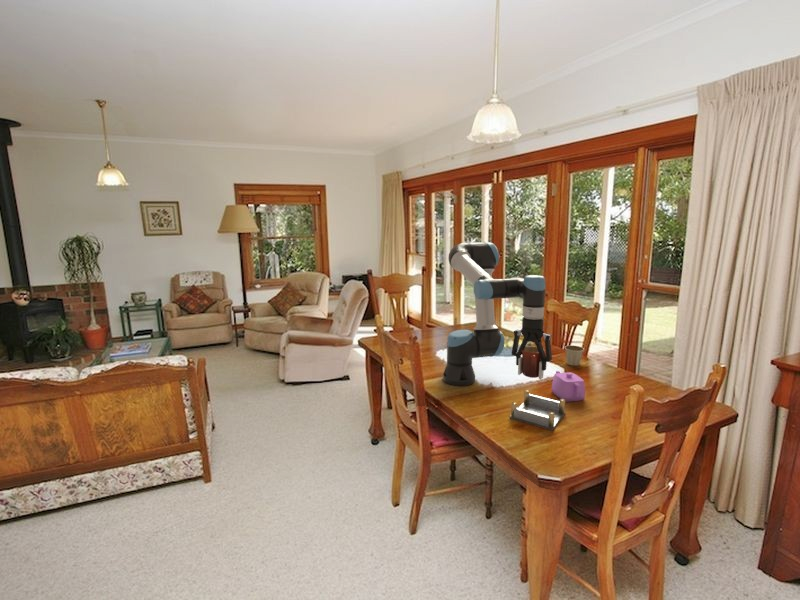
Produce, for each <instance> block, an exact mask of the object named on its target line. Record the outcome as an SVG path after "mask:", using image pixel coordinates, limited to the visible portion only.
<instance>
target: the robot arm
mask: <svg viewBox="0 0 800 600" xmlns="http://www.w3.org/2000/svg"><path fill="white" fill-rule="evenodd" d="M499 253H500V252H499V250H498V248H497V246H496V245H495V244H494V243H493V242H486V241H481V242H479V241H478V242H475V241H474V242H460V243H458V244H456V245H455V246H453V247H452V248H451V249H450V251H449V253H448V258H447V259H448V263H449V265H450V267H451V269H454V271H457V272H459V273H460V274H461V275H462V276H463V277H464V278H465V279H466V280H467V281H468V282H469V283H470V284H471V285H472V286H473V294H474V304H475V317H476V319H475V322H476V325H475V326H474V328H473V331H472V330H470V329H456V330H453V331H451V332H450V333H449V334H448V335H447V342H446V366H445V367H444V371H443V374H442V381H443V382H444V383H446V384H449V385H451V386H456V387H457V386H459V387H466V386H470V385H472V384H474V383H475V382H476V374H475V371H474V367H473V359H477V358H485V357H486V358H488V357H489V358H492V357H495V356H500V355H501V354H502V352H503V351H504V348H505V344H506V343H505V336H504V333H503V332H502V331H501V330H500V329H499V327H498V325H496V319H495V304H494V303H495V301H494V300H497V299H511V298H512V299H516V298H519V299H522V316H523V317H522V319H521V329H516V330H514V331H513V335H514V336H513V337H514V338H513V343H512V349H511V356H514V357H515V364H516V366H517V375H518V376H520V375H521V374H522V375H523V373H522V352H521V350H523V351H524V349H525V347H526V346H527V344H528V342H531V343H534V344H535V347H537V349H538V352H539V355H540V358H541V362H539V377H538V380H542V379H543V378H544V371H546V370H547V363H549V362H551V361H552V360H553V355H552V345H551V344H552V343H551V341H552V340H551V339H552V334H551V333H550V334H547V333H545V332H544V317H545V314H544V313H545V298H546V278H545V276H543V275H536V274H535V275H534V274H531V275H530V274H529V275H525V276H524V278H523V277H520V276H512V277H510V278H493V273H494V271H495V270H496V267H497V266H498V265H499V260H500V255H499ZM521 335H522V336H523V339H522V340H521V344H519V343H520V337H521ZM542 338H543V340H544V346H543V342H542ZM519 345H520V346H519ZM544 347H545V349H544ZM544 350H545V352H544Z"/></svg>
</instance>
